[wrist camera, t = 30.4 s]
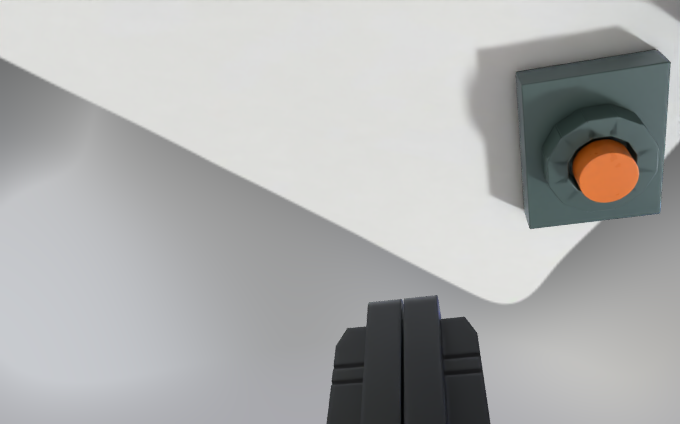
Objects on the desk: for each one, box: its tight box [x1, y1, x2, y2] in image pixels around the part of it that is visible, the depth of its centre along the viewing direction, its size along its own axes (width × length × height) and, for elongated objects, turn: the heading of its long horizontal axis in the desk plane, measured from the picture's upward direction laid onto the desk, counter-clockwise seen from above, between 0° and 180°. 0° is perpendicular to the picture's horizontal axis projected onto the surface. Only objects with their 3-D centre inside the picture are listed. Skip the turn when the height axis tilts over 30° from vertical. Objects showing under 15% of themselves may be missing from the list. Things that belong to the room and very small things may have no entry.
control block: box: [516, 50, 671, 229], centre depth 38 cm, size 10×8×4 cm
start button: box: [572, 139, 639, 203], centre depth 36 cm, size 3×3×2 cm
